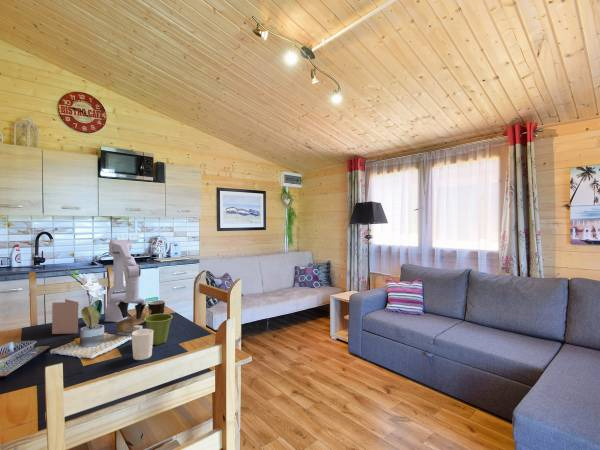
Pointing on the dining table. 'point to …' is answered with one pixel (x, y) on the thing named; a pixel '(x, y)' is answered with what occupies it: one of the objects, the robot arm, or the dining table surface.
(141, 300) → the robot arm
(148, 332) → the white cup
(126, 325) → the walnut bar
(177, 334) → the dining table surface
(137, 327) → the fulcrum
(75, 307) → the greeting card
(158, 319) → the plant pot
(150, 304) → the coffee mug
